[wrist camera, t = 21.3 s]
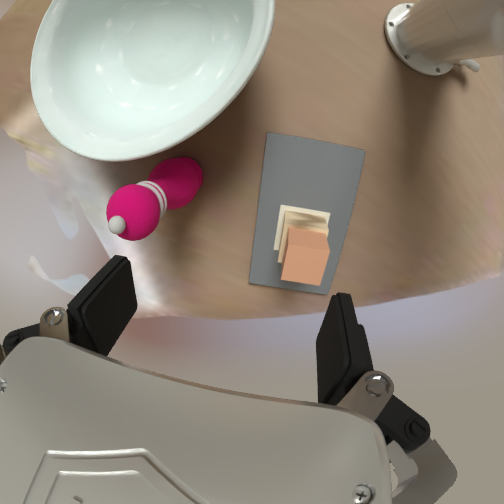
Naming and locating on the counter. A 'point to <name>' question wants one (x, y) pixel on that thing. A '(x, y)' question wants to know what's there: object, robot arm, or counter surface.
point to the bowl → (142, 70)
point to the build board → (303, 201)
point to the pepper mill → (153, 198)
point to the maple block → (300, 226)
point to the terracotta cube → (304, 256)
